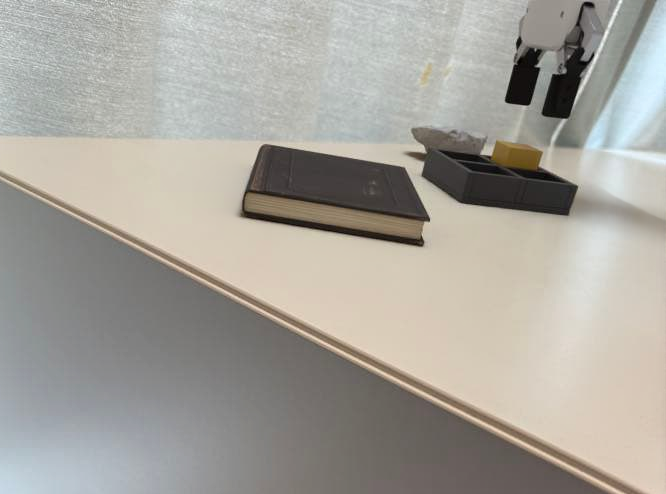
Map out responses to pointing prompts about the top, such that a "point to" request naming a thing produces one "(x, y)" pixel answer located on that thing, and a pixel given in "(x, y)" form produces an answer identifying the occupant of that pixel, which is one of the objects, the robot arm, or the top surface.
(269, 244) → the top surface
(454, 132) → the fossil
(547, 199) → the divided tray
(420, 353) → the top surface
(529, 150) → the block
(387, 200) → the hardcover book
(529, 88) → the robot arm
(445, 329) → the top surface
